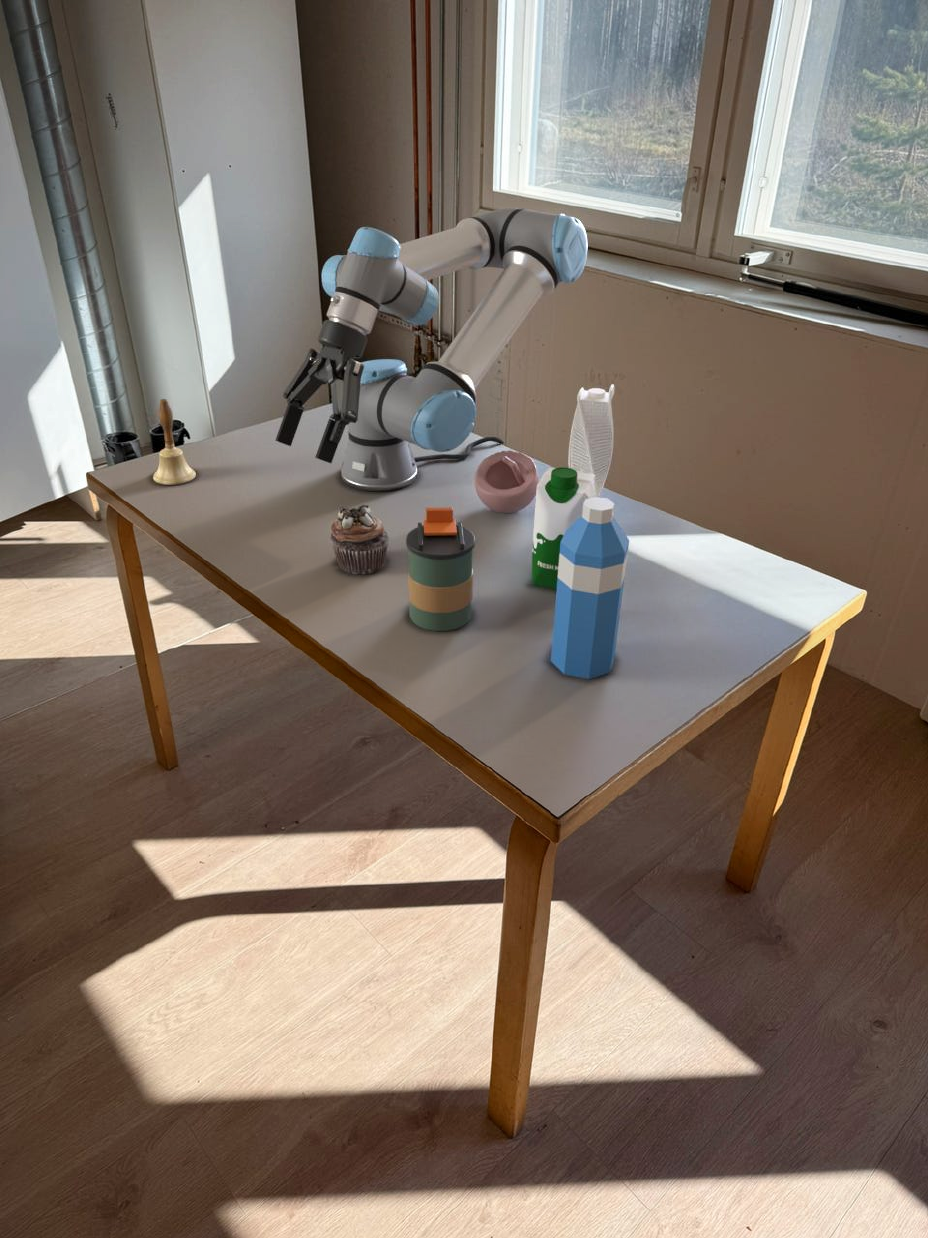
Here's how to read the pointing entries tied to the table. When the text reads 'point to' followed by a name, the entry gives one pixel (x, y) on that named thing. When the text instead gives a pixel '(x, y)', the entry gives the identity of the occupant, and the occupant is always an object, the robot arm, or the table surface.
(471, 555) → the travel mug
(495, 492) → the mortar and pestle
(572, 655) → the water bottle
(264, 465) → the table surface
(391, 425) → the robot arm
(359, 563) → the cupcake
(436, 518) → the slider
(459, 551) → the mug lid
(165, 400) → the hand bell
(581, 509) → the milk carton
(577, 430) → the skyscraper
